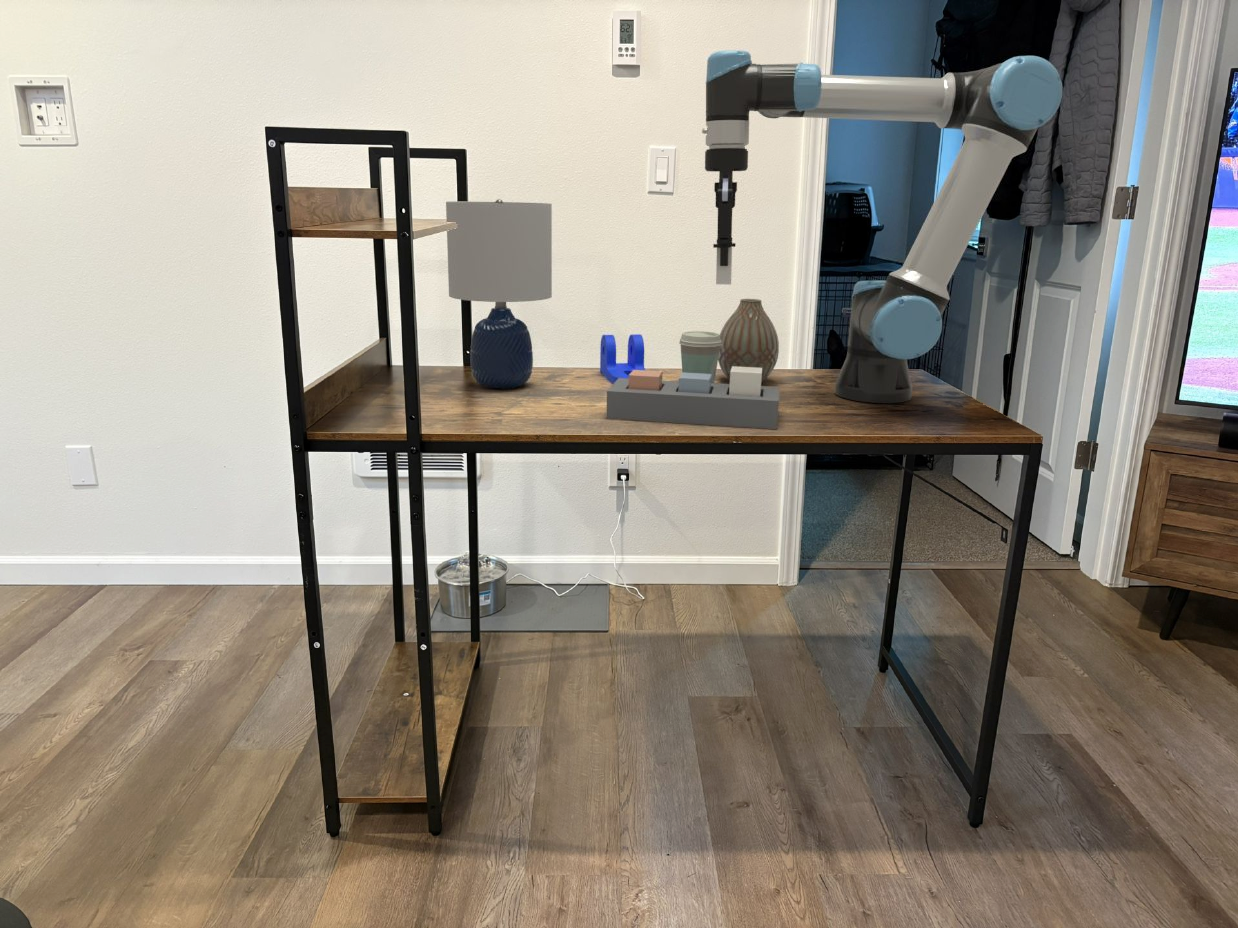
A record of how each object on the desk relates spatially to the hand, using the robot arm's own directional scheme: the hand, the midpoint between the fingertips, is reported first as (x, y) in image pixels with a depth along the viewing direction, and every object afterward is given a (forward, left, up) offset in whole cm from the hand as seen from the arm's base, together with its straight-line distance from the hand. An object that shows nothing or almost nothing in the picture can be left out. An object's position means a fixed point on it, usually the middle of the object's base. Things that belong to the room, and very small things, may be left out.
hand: (723, 284), depth 166 cm
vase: (-4, -26, -23) cm, 35 cm away
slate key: (+4, +9, -20) cm, 22 cm away
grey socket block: (+4, +9, -23) cm, 25 cm away
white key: (-5, +9, -18) cm, 21 cm away
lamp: (+45, -7, -23) cm, 51 cm away
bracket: (+21, -21, -23) cm, 38 cm away
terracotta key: (+13, +9, -20) cm, 25 cm away
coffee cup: (+5, -11, -23) cm, 26 cm away
